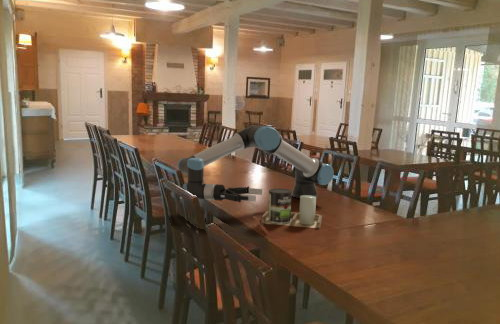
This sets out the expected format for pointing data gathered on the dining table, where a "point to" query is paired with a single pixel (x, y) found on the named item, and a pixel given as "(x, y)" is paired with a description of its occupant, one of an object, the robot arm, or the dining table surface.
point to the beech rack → (293, 220)
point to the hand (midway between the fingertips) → (259, 195)
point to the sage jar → (307, 209)
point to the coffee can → (280, 206)
